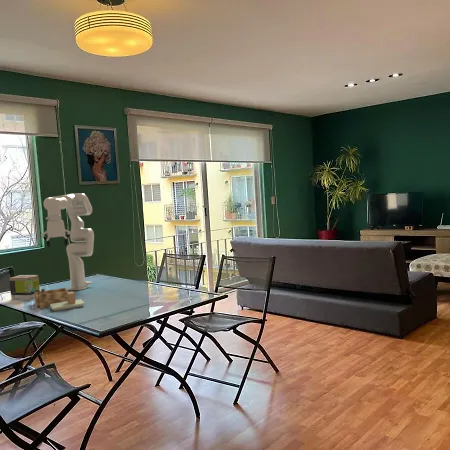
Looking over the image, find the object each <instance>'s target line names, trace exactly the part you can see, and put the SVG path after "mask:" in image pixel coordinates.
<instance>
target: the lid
mask: <svg viewBox="0 0 450 450" xmlns="http://www.w3.org/2000/svg"><path fill="white" fill-rule="evenodd" d="M85 304H86V303H85V302H84V301H83V300H82V299H81V298H79V299H76V295H75V291H74V290H71V291H68V292H67V301H66V302H60V303H53V304H50V306H49V307H50V308H51V310H52V311H54V312H58V311H64V310H71V309H76V308H83V306H85Z"/></svg>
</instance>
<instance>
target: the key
mask: <svg viewBox="0 0 450 450" xmlns="http://www.w3.org/2000/svg"><path fill="white" fill-rule="evenodd" d="M40 291H41V295H42V296H43V297H47V294H46V292H45V291H46V290H45V288H41V289H40Z"/></svg>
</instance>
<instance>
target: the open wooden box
mask: <svg viewBox="0 0 450 450" xmlns="http://www.w3.org/2000/svg"><path fill="white" fill-rule="evenodd" d="M45 292H46V294H47V297H43V296H42V295H41V290H40V292H34V293H35V299H34V300H35V301H34V302H35V303H34V304H35V306H36V308H40V309H47V308H49V307H50V304H53V303H60V302H66V301H67V292H69V289H67V287H63V288H61V287H60V288H56V289H48V290H45Z"/></svg>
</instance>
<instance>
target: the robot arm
mask: <svg viewBox="0 0 450 450" xmlns="http://www.w3.org/2000/svg"><path fill="white" fill-rule="evenodd" d="M43 207H44V209H45V210H46V211H47V217H45V220H47V223H46V230H45V231H44V232H43V233H41V234H40V236H41V238H42V239H44V240H45V241H46V247H48V248H50V247H51V242H50V239H51V238H59V237H60V238H62V237H63V238H64V239H63V243H64V246H66V248H65V249H66V255H67V258H68V267H69V277H70V279H69V280H70V286H69V287H68V291H69V290H70V291H81V290H86V289H88V288H89V286H88V285H93V281H86V278H85V277H86V274H85V264H84V260H83V259H82V258H81V257H91V256H92V255H93V253H94V246H95V245H94V242H95V233H94V230H93V229H92V228H91V227H90V228H88V227H87V228H85V222H84V220H83V219H82V218H81V216H90V215H91V214H92V213H93V206H92V204H91V202H90V200H89V197H88V196H87V195H86V194H85V193H82V192H81V193H68V194H63V195H57V196H52V197H51V196H50V197H46V198H45V199H44V200H43ZM65 209H66V213H67V215H68V217H69V220H70V223H71V224H70V225H71V227H70V230H68V229H66V227H65V221H64V220H63V219H62V211H61V210H65ZM66 233H67V235H66ZM45 235H47V237H46V236H45ZM69 237H70V241H71V242H73V243H68V238H69Z"/></svg>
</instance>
